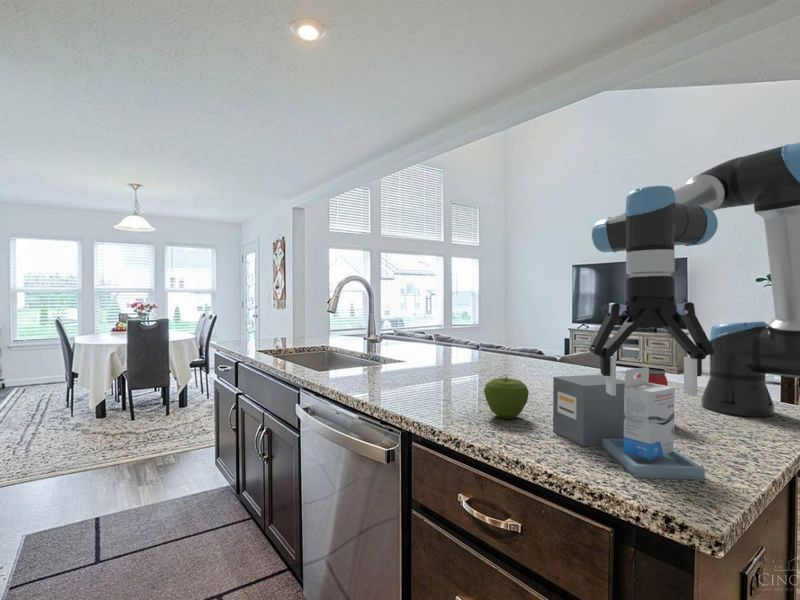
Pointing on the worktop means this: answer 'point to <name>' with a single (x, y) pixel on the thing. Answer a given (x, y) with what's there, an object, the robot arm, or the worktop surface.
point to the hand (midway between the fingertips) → (650, 394)
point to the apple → (506, 397)
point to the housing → (587, 409)
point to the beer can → (656, 377)
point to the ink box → (647, 416)
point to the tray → (654, 463)
